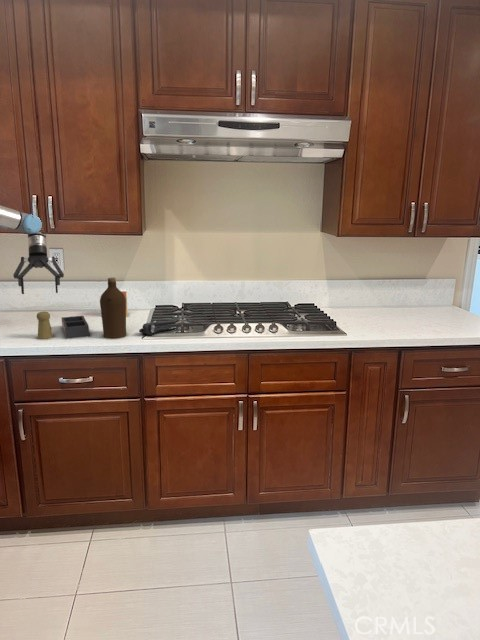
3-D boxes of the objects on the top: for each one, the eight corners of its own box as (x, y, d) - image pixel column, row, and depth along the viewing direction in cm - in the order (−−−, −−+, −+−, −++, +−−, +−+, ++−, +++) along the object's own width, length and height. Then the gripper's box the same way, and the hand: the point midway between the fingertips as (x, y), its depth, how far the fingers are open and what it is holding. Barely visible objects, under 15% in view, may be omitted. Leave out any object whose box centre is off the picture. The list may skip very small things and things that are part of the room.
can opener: (145, 337, 197) (145, 325, 195) (137, 334, 202) (137, 321, 200) (180, 330, 208) (180, 318, 207) (172, 326, 213) (171, 315, 212)
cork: (56, 336, 197) (53, 311, 194) (44, 340, 192) (41, 314, 189) (46, 334, 200) (44, 309, 197) (34, 338, 195) (31, 312, 192)
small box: (110, 317, 228) (109, 291, 224) (111, 314, 234) (109, 288, 230) (127, 316, 230) (126, 291, 226) (127, 313, 236) (126, 288, 232)
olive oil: (130, 337, 197) (127, 279, 191) (105, 340, 193) (101, 281, 186) (124, 331, 206) (121, 275, 200) (99, 333, 202) (96, 277, 195)
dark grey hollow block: (65, 338, 194) (64, 327, 193) (62, 327, 210) (61, 317, 209) (89, 336, 198) (88, 325, 197) (84, 325, 214) (83, 315, 212)
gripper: (5, 243, 199) (6, 290, 194) (67, 244, 208) (70, 288, 203) (7, 251, 206) (9, 296, 200) (67, 251, 215) (70, 294, 209)
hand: (39, 292), depth 202 cm, fingers open, 13 cm apart
